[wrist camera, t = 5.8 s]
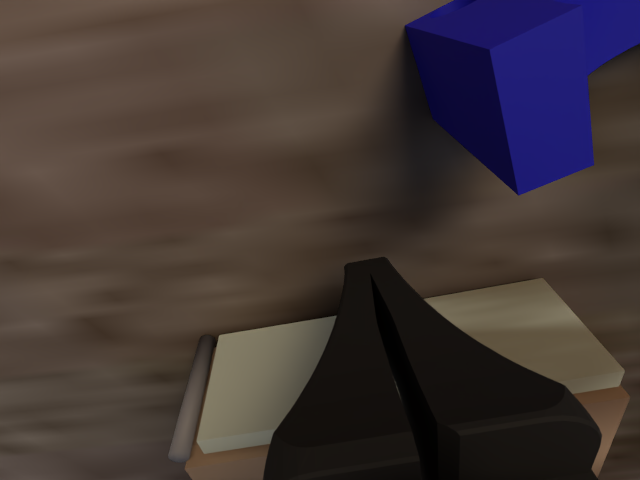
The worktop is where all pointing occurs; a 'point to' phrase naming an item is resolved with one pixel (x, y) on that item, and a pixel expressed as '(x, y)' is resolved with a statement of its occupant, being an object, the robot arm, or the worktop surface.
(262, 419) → the door
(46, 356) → the worktop surface
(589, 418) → the robot arm
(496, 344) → the cabinet
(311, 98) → the worktop surface
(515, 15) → the blue curved piece
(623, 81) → the worktop surface
